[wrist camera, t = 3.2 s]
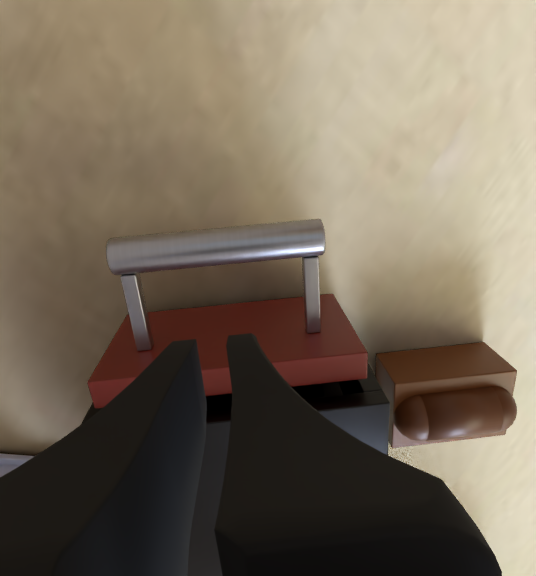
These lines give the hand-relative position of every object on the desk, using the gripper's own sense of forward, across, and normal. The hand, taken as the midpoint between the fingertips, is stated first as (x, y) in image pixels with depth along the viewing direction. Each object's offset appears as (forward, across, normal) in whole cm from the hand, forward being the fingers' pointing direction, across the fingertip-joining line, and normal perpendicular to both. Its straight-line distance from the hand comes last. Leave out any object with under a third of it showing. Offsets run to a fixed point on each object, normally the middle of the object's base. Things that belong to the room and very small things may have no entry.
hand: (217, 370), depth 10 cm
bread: (+10, -11, +9) cm, 18 cm away
